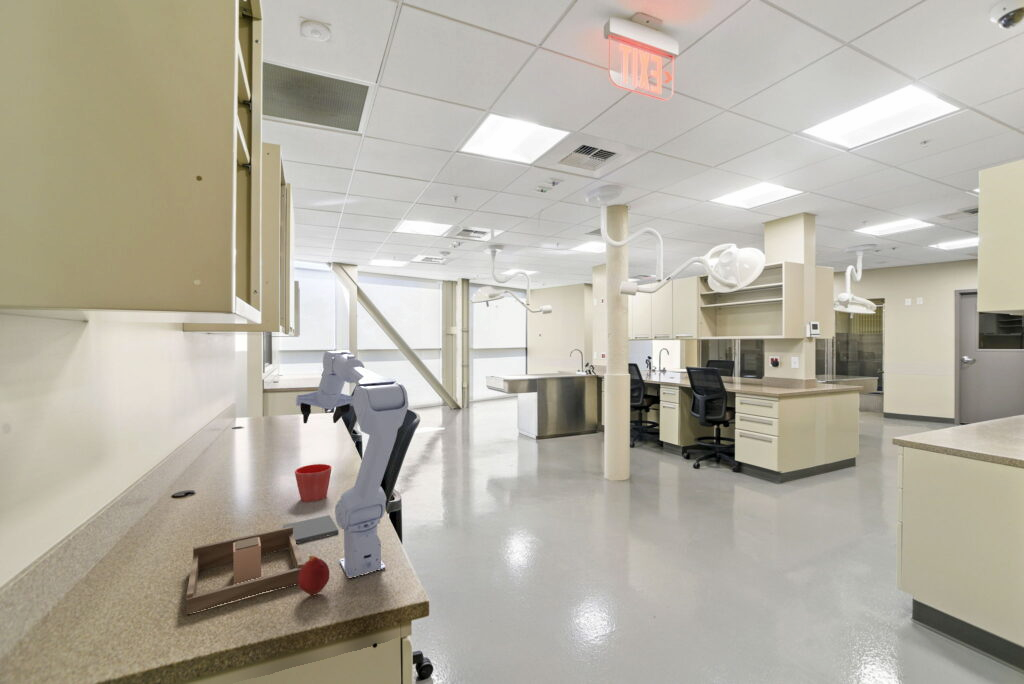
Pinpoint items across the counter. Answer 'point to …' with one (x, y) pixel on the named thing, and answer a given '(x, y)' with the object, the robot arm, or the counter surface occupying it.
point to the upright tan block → (247, 559)
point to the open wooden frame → (224, 554)
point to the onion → (313, 575)
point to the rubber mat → (313, 528)
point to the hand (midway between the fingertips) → (319, 420)
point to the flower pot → (313, 481)
